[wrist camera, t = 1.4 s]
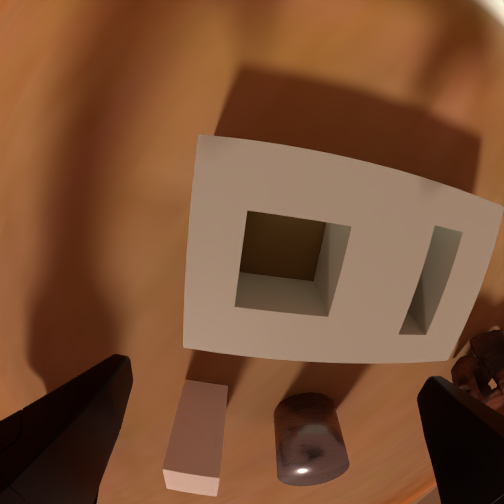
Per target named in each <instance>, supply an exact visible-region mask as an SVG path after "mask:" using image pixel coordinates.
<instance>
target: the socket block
mask: <svg viewBox="0 0 504 504" xmlns="http://www.w3.org/2000/svg"><path fill="white" fill-rule="evenodd" d="M247 210H248V211H255V212H262V213H269V214H276V215H283V216H290V217H296V218H303V219H309V220H316V221H322V222H326V226H325V231H324V236H323V240H322V245H321V250H320V254H319V259H318V263H317V268H316V272H315V276H314V280H313V281H307V280H299V279H291V278H282V277H274V276H267V275H259V274H251V273H243V272H239V269H240V261H241V254H242V246H243V239H244V231H245V224H246V217H247ZM503 210H504V207H503V206H501V205H498V204H496V203H493V202H491V201H489V200H486V199H483V198H481V197H478V196H476V195H473V194H470V193H468V192H465V191H462V190H459V189H457V188H454V187H451V186H448V185H445V184H442V183H439V182H436V181H433V180H430V179H427V178H423V177H420V176H417V175H414V174H410V173H407V172H403V171H400V170H396V169H393V168H389V167H385V166H381V165H378V164H374V163H370V162H366V161H361V160H357V159H353V158H349V157H344V156H340V155H335V154H330V153H325V152H320V151H315V150H310V149H305V148H299V147H294V146H288V145H282V144H275V143H269V142H262V141H255V140H247V139H239V138H231V137H221V136H211V135H200V134H199V135H198V142H197V150H196V158H195V167H194V176H193V185H192V195H191V206H190V217H189V229H188V243H187V258H186V275H185V295H184V325H183V347H184V348H190V349H196V350H203V351H209V352H216V353H224V354H231V355H240V356H248V357H258V358H268V359H279V360H292V361H307V362H327V363H415V362H433V361H447V360H448V359H449V357H450V355H451V353H452V351H453V349H454V347H455V345H456V343H457V341H458V339H459V337H460V335H461V333H462V331H463V329H464V326H465V324H466V322H467V320H468V317H469V315H470V313H471V311H472V308H473V306H474V303H475V301H476V298H477V296H478V293H479V291H480V288H481V285H482V283H483V280H484V277H485V274H486V271H487V268H488V265H489V262H490V259H491V256H492V253H493V249H494V246H495V242H496V239H497V235H498V231H499V227H500V223H501V219H502V215H503Z"/></svg>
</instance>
